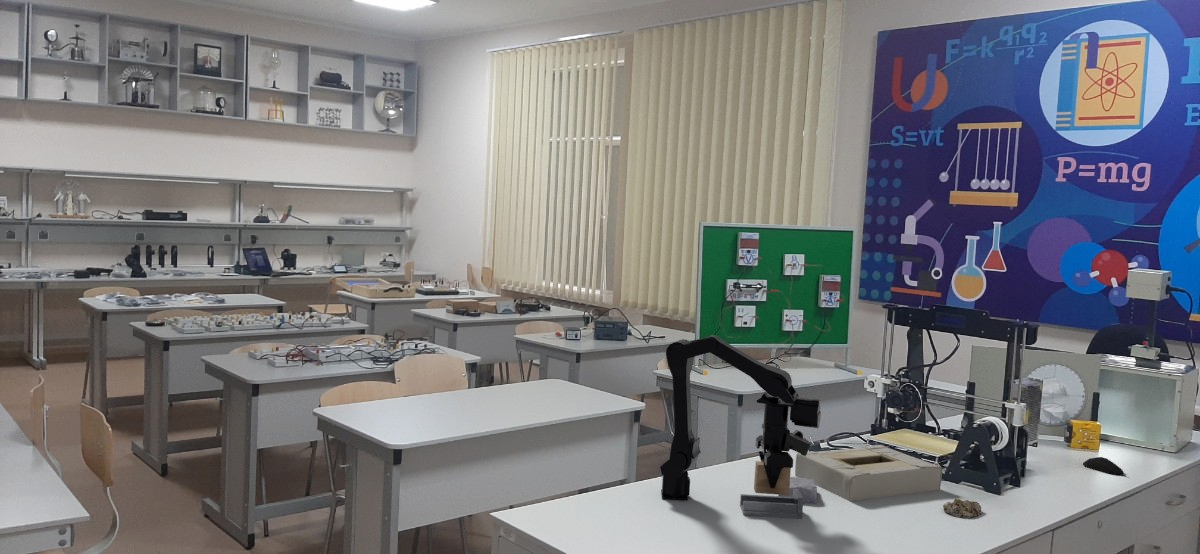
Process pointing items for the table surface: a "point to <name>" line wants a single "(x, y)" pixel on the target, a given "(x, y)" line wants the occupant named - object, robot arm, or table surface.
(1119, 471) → the black teardrop lump
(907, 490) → the box
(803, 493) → the stone block
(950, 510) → the mineral rock
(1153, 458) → the table surface
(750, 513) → the floor track
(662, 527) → the table surface
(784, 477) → the brown wooden block
